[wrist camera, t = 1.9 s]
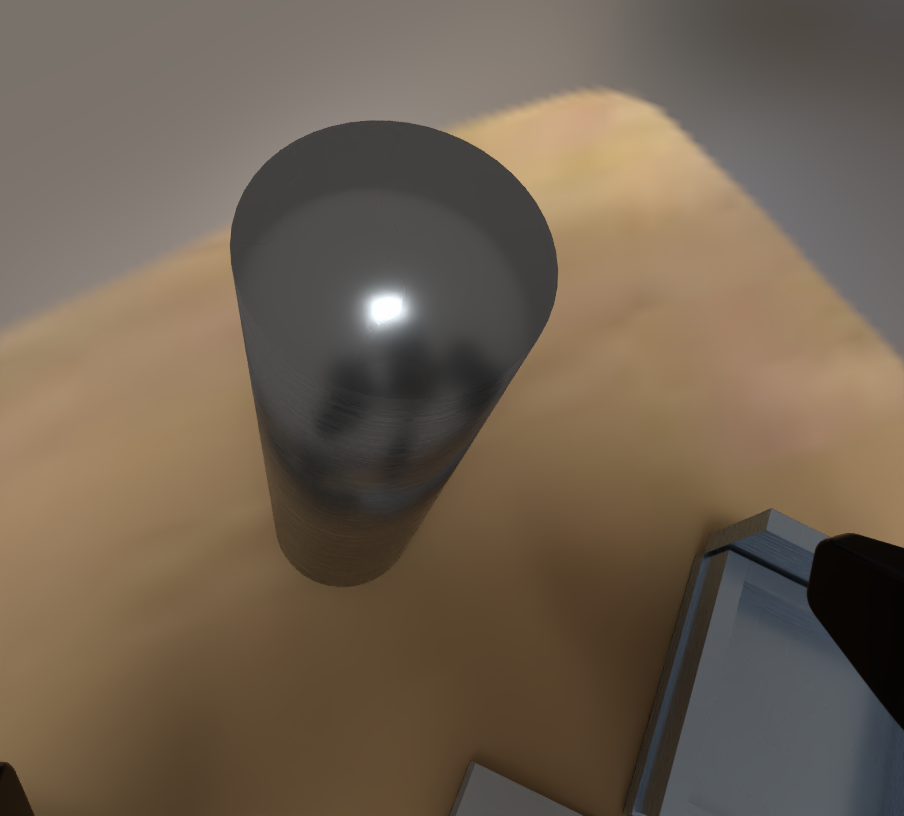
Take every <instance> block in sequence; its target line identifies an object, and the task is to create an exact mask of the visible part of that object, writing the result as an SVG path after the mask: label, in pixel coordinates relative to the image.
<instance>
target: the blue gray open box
mask: <svg viewBox="0 0 904 816" xmlns="http://www.w3.org/2000/svg"><path fill="white" fill-rule="evenodd" d="M826 538H830V537H829V536H826V535H824V534H822V533H820V532H818V531H816V530H814V529H812V528H810V527H808V526H806V525H804V524H802V523H800V522H798V521H796V520H794V519H792V518H790V517H788V516H786V515H784V514H782V513H780V512H778V511H776V510H774V509H772V508H771V509H769V510H766V511H764V512H762V513H759V514H757V515H755V516H752V517H750V518H748V519H745V520H743V521H740V522H738V523H736V524H733V525H731V526H729V527H726V528H724V529H721V530H719V531H717V532H714V533H712V534H710V535H709V538H708V541H707V545H706V548H705V552H704V554H701V555H699V556H696V557H695V560H694V563H693V567H692V570H691V574H690V577H689V581H688V584H687V588H686V591H685V595H684V598H683V602H682V606H681V609H680V613H679V616H678V620H677V623H676V627H675V630H674V634H673V637H672V641H671V644H670V648H669V651H668V655H667V658H666V662H665V665H664V669H663V672H662V676H661V680H660V683H659V687H658V690H657V694H656V697H655V701H654V704H653V708H652V711H651V715H650V718H649V722H648V725H647V729H646V732H645V736H644V739H643V743H642V746H641V750H640V754H639V757H638V761H637V764H636V768H635V771H634V775H633V778H632V782H631V785H630V789H629V792H628V796H627V799H626V803H625V806H624V810H623V812H625V813H627V814H629V815H631V816H904V731H903V730H902V729H901V727H900V726H899V725H898V724H897V723H896V722H895V720H894V719H893V718H892V717H891V716H890V714H889V713H888V712H887V710H886V709H885V708H884V707H883V705H882V704H881V703H880V702H879V700H878V699H877V698H876V696H875V695H874V694H873V692H872V691H871V690H870V688H869V687H868V686H867V684H866V683H865V682H864V680H863V679H862V678H861V676H860V675H859V674H858V672H857V671H856V670H855V668H854V667H853V666H852V664H851V663H850V662H849V660H848V659H847V658H846V656H845V655H844V654H843V652H842V651H841V650H840V648H839V647H838V646H837V644H836V643H835V642H834V640H833V639H832V638H831V636H830V635H829V634H828V632H827V631H826V630H825V629H824V627H823V626H822V625H821V623H820V622H819V621H818V619H817V618H816V617H815V615H814V614H813V612H812V611H811V609H810V606H809V604H808V601H807V594H806V593H807V586H808V581H809V576H810V571H811V566H812V561H813V556H814V552H815V548H816V546H817V545H818V543H819V542H820V541H822V540H823V539H826Z"/></svg>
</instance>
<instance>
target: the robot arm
mask: <svg viewBox="0 0 904 816" xmlns="http://www.w3.org/2000/svg"><path fill="white" fill-rule="evenodd" d="M806 594H807V601H808V604H809V606H810V609H811V611H812V612H813V614H814V615H815V617H816V618H817V619H818V621H819V622H820V623H821V625H822V626H823V627H824V629H825V630H826V631H827V632H828V634H829V635H830V636H831V638H832V639H833V640H834V642H835V643H836V644H837V646H838V647H839V648H840V650H841V651H842V652H843V654H844V655H845V656H846V658H847V659H848V660H849V662H850V663H851V664H852V666H853V667H854V668H855V670H856V671H857V672H858V674H859V675H860V676H861V678H862V679H863V680H864V682H865V683H866V684H867V686H868V687H869V688H870V690H871V691H872V692H873V694H874V695H875V696H876V698H877V699H878V700H879V702H880V703H881V704H882V705H883V707H884V708H885V709H886V710H887V712H888V713H889V714H890V716H891V717H892V718H893V719H894V720H895V722H896V723H897V724H898V725H899V726H900V727H901V729H902V730H903V731H904V548H902V547H899V546H896V545H892V544H889V543H886V542H882V541H879V540H875V539H872V538H869V537H865V536H862V535H858V534H854V533H845V534H841V535H837V536H833V537H830V538H826V539H823V540H822V541H820V542H819V543H818V545H817V546H816V548H815V552H814V556H813V561H812V566H811V571H810V576H809V581H808V586H807V593H806ZM0 816H35V815H34V813H33V811H32V809H31V806H30V804H29V802H28V799H27V797H26V795H25V792H24V790H23V788H22V785H21V783H20V781H19V778H18V776H17V774H16V772H15V770H14V768H13V767H12V766H11V765H10V764H9V763H7V762H0Z"/></svg>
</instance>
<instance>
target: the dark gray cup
mask: <svg viewBox="0 0 904 816" xmlns="http://www.w3.org/2000/svg"><path fill="white" fill-rule="evenodd" d="M230 252H231V265H232V271H233V277H234V283H235V289H236V295H237V301H238V307H239V313H240V319H241V325H242V331H243V337H244V343H245V349H246V355H247V361H248V367H249V372H250V378H251V384H252V390H253V396H254V402H255V408H256V414H257V420H258V426H259V432H260V438H261V444H262V450H263V456H264V462H265V468H266V474H267V480H268V486H269V492H270V498H271V504H272V510H273V516H274V522H275V528H276V533H277V538H278V541H279V544H280V547H281V549H282V551H283V553H284V555H285V556H286V558H287V559H288V560H289V562H290V563H291V564H292V565H293V566H294V567H295V568H296V569H297V570H298V571H299V572H300V573H302V574H303V575H304V576H306V577H308V578H309V579H311V580H313V581H316V582H318V583H321V584H325V585H328V586H336V587H349V586H356V585H360V584H364V583H367V582H369V581H371V580H374V579H375V578H377V577H379V576H380V575H382V574H383V573H385V572H386V571H387V570H388V569H389V568H390V567H391V566H392V565H393V564H394V563H395V562H396V561H397V559H398V558H399V557H400V555H401V554H402V552H403V551H404V549H405V547H406V546H407V544H408V543H409V541H410V540H411V538H412V536H413V535H414V533H415V532H416V530H417V529H418V527H419V525H420V524H421V522H422V521H423V519H424V517H425V516H426V514H427V513H428V511H429V510H430V508H431V506H432V505H433V503H434V502H435V500H436V499H437V497H438V495H439V494H440V492H441V491H442V489H443V488H444V486H445V484H446V483H447V481H448V480H449V478H450V477H451V475H452V473H453V472H454V470H455V469H456V467H457V465H458V464H459V462H460V461H461V459H462V458H463V456H464V454H465V453H466V451H467V450H468V448H469V447H470V445H471V443H472V442H473V440H474V439H475V437H476V436H477V434H478V432H479V431H480V429H481V428H482V426H483V424H484V423H485V421H486V420H487V418H488V417H489V415H490V413H491V412H492V410H493V409H494V407H495V406H496V404H497V402H498V401H499V399H500V398H501V396H502V395H503V393H504V391H505V390H506V388H507V387H508V385H509V384H510V382H511V380H512V379H513V377H514V376H515V374H516V372H517V371H518V369H519V368H520V366H521V365H522V363H523V361H524V360H525V358H526V357H527V355H528V354H529V352H530V350H531V349H532V347H533V346H534V344H535V343H536V341H537V339H538V338H539V336H540V334H541V333H542V331H543V329H544V327H545V325H546V323H547V322H548V319H549V316H550V314H551V311H552V308H553V305H554V301H555V296H556V291H557V280H558V266H557V257H556V250H555V246H554V242H553V238H552V235H551V232H550V230H549V227H548V225H547V222H546V220H545V218H544V216H543V214H542V212H541V210H540V209H539V207H538V205H537V203H536V202H535V200H534V199H533V198H532V196H531V195H530V194H529V192H528V191H527V190H526V188H525V187H524V186H523V185H522V184H521V183H520V182H519V180H518V179H517V178H516V177H515V176H514V175H513V174H512V173H511V172H510V171H509V170H507V169H506V168H505V167H504V166H503V165H502V164H500V163H499V162H498V161H497V160H495V159H494V158H492V157H491V156H490V155H488V154H487V153H485V152H484V151H482V150H481V149H479V148H477V147H475V146H473V145H472V144H470V143H468V142H466V141H464V140H462V139H460V138H457V137H455V136H453V135H450V134H448V133H445V132H442V131H439V130H436V129H433V128H430V127H425V126H421V125H416V124H411V123H404V122H396V121H360V122H350V123H345V124H340V125H336V126H331V127H328V128H325V129H322V130H319V131H316V132H313V133H311V134H309V135H306V136H304V137H302V138H300V139H298V140H296V141H294V142H293V143H291V144H289V145H288V146H286V147H285V148H283V149H282V150H280V151H279V152H278V153H277V154H275V155H274V156H273V157H272V158H271V159H270V160H268V161H267V162H266V163H265V164H264V165H263V166H262V167H261V169H260V170H259V171H258V172H257V173H256V174H255V175H254V177H253V178H252V180H251V182H250V183H249V184H248V186H247V187H246V189H245V190H244V192H243V195H242V197H241V199H240V201H239V203H238V206H237V208H236V212H235V216H234V219H233V223H232V229H231V239H230Z"/></svg>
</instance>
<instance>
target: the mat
mask: <svg viewBox="0 0 904 816" xmlns="http://www.w3.org/2000/svg"><path fill="white" fill-rule="evenodd" d="M450 816H583V815H581V814H579V813H577V812H575V811H573V810H571V809H569V808H567V807H565V806H562V805H560V804H558V803H556V802H554V801H552V800H550V799H548V798H546V797H544V796H542V795H540V794H538V793H536V792H534V791H532V790H530V789H528V788H526V787H524V786H522V785H520V784H518V783H516V782H514V781H512V780H509V779H507V778H505V777H503V776H501V775H499V774H497V773H495V772H493V771H491V770H489V769H487V768H485V767H483V766H481V765H479V764H477V763H474V762H472V761H470V763H469V766H468V769H467V771H466V774H465V777H464V779H463V782H462V784H461V787H460V790H459V792H458V795H457V798H456V800H455V803H454V805H453V808H452V811H451V813H450Z"/></svg>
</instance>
